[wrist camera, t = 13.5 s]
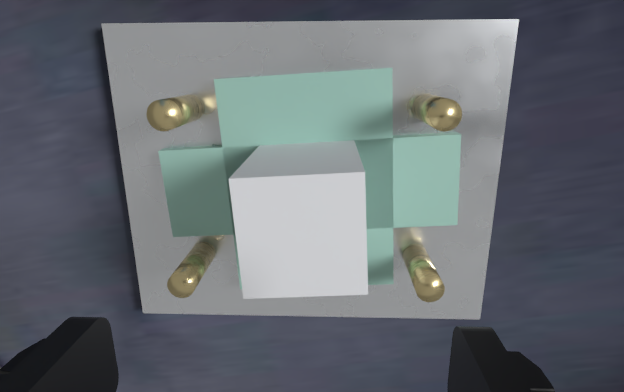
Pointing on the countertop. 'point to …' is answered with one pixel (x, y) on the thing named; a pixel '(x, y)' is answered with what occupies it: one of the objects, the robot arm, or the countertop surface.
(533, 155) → the countertop surface
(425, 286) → the chassis plate
